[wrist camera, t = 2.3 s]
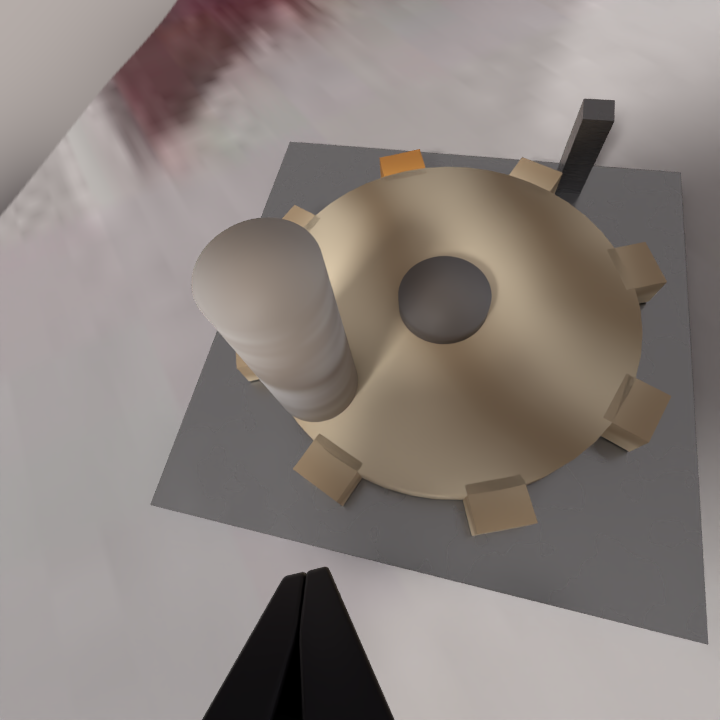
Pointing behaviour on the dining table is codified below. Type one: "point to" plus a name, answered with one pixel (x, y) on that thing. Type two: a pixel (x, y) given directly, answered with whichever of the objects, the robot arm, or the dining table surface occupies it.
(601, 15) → the dining table surface
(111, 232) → the dining table surface
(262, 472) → the bearing plate
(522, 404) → the turntable
